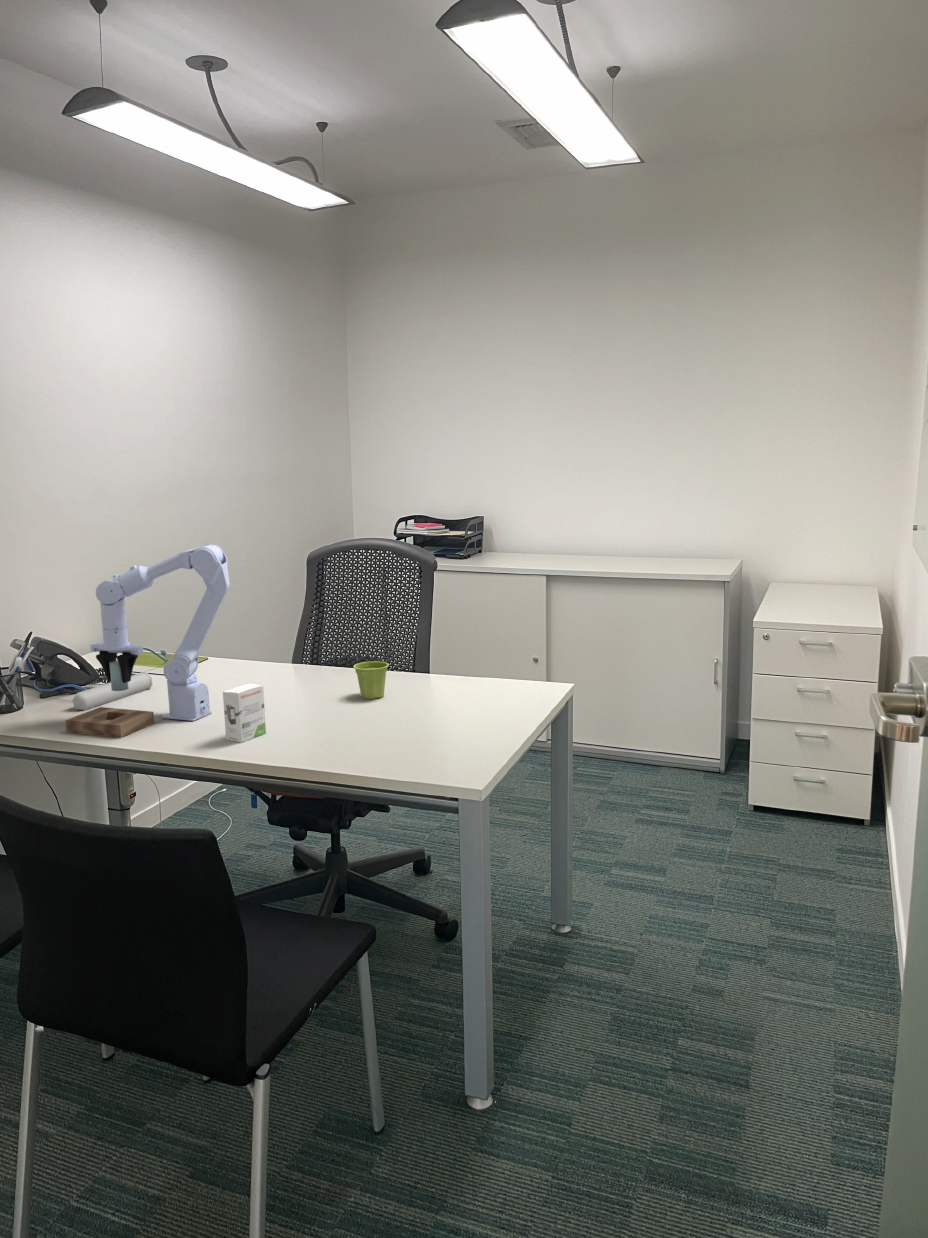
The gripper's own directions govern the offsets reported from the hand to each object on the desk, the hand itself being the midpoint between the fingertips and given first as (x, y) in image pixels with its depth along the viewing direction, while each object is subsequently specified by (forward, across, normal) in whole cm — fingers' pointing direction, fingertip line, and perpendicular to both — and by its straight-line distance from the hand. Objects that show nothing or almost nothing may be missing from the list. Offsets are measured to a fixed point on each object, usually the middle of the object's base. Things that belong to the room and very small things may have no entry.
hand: (119, 681), depth 230 cm
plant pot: (+10, -52, -36) cm, 64 cm away
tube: (+10, +15, -14) cm, 23 cm away
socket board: (+9, -4, +8) cm, 13 cm away
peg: (+2, 0, 0) cm, 2 cm away
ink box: (+10, -40, +5) cm, 41 cm away
